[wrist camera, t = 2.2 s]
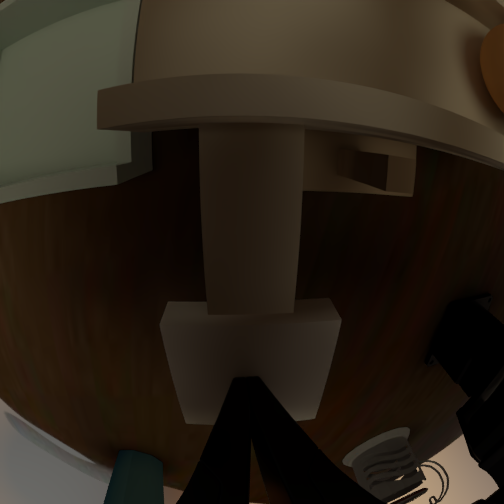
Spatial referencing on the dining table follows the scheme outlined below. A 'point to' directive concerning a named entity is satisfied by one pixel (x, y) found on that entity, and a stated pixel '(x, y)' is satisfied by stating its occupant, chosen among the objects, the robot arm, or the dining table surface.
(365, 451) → the french press
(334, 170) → the stand
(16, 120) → the tray
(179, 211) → the dining table surface
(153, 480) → the cup
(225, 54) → the lever
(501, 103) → the ball
